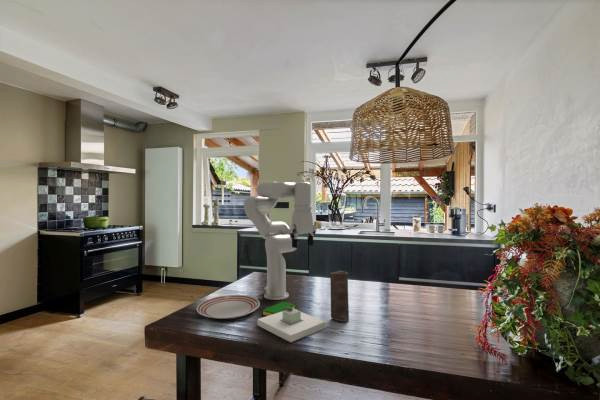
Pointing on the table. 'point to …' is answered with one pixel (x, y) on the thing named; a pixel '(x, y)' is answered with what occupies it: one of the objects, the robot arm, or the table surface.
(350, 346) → the table surface
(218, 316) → the dinner plate
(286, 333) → the socket
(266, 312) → the dish sponge
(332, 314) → the candle
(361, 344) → the table surface
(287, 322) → the plug
